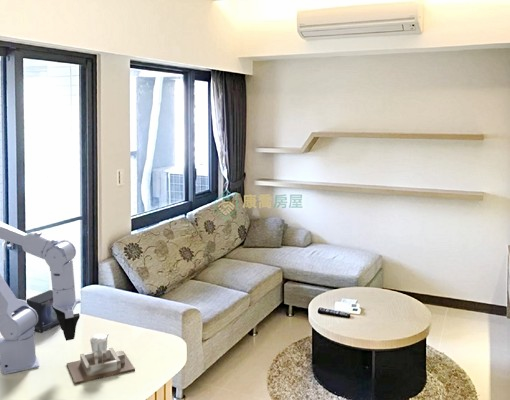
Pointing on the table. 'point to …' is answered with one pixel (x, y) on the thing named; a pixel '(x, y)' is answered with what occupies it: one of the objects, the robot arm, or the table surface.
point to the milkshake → (99, 348)
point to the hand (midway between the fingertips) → (67, 334)
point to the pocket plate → (99, 366)
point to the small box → (44, 311)
